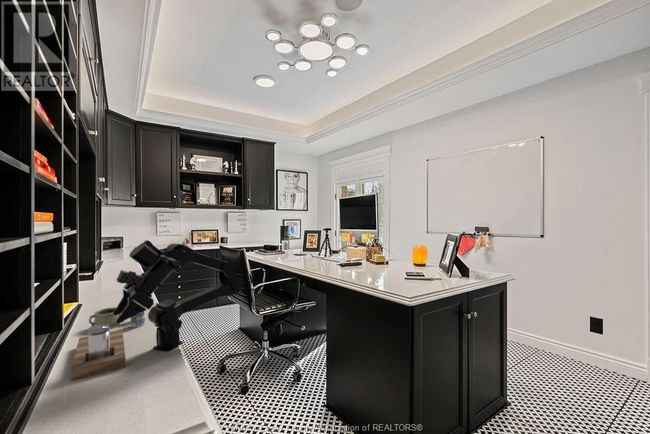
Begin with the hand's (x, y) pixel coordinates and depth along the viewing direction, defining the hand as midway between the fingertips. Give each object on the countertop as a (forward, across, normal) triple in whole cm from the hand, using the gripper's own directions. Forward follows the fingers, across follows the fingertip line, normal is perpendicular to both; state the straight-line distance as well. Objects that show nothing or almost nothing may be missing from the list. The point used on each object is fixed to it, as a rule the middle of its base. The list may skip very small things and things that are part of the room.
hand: (115, 318), depth 93 cm
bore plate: (+11, -6, +6) cm, 15 cm away
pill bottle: (+2, -30, +16) cm, 34 cm away
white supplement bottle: (+1, -38, +17) cm, 42 cm away
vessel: (+9, -38, +9) cm, 40 cm away
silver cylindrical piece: (+12, 0, +6) cm, 13 cm away
